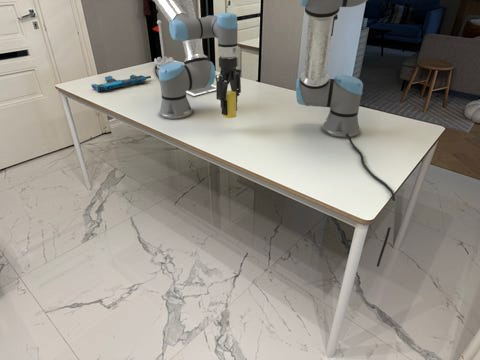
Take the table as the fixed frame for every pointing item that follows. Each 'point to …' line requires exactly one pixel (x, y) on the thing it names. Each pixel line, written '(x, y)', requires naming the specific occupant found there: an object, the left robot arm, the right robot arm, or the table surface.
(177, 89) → the left robot arm
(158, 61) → the flag stand
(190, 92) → the tablet
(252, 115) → the table surface
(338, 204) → the table surface
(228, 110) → the cylinder
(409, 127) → the table surface
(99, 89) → the submachine gun
